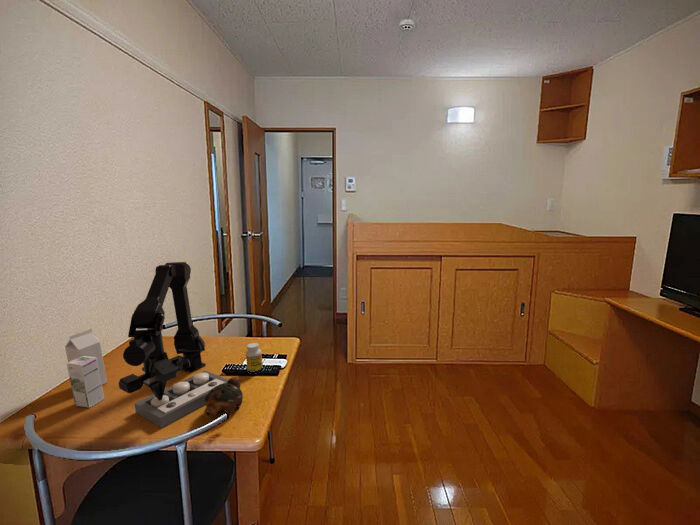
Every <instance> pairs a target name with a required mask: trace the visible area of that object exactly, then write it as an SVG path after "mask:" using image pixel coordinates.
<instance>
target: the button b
mask: <svg viewBox="0 0 700 525" xmlns="http://www.w3.org/2000/svg"><path fill="white" fill-rule="evenodd" d="M172 386H173V394H174V395H183V394H185V393H187V392H189V391H190V385H189V382H181V381H180V382H176V383H174V384H173V385H172Z"/></svg>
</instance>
